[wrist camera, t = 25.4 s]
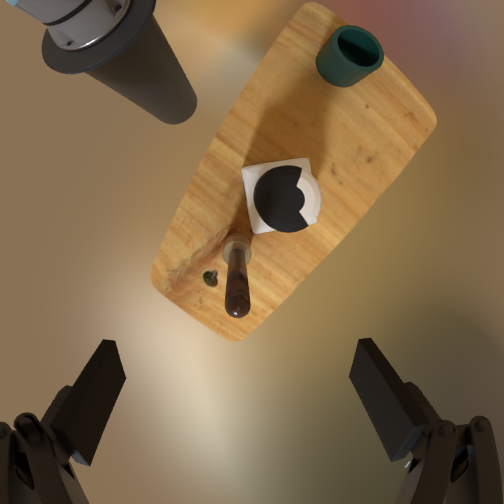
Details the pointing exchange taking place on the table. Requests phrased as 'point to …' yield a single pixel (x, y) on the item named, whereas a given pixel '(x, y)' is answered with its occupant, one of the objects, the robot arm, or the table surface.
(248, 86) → the table surface
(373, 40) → the cup
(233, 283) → the brush
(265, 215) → the container
